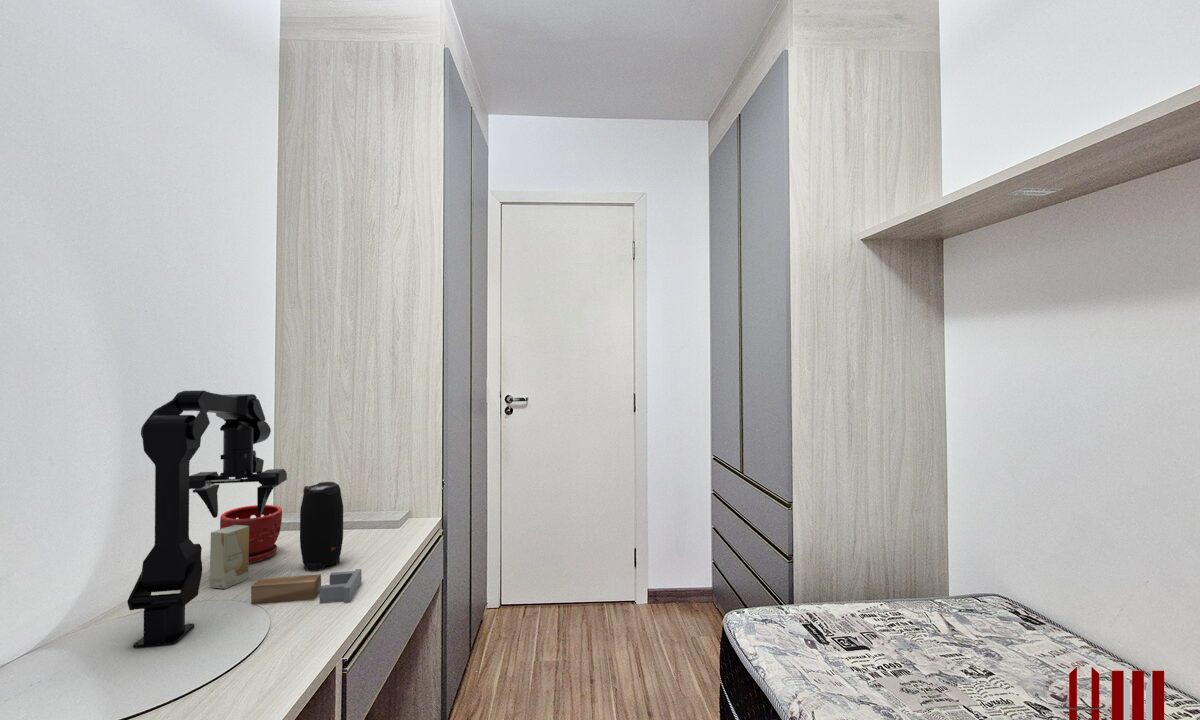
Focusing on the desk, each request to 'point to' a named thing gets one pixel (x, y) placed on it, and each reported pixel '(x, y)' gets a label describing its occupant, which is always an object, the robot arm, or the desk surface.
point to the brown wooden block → (285, 589)
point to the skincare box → (229, 556)
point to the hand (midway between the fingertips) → (237, 516)
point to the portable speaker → (321, 525)
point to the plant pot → (257, 528)
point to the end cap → (341, 586)
